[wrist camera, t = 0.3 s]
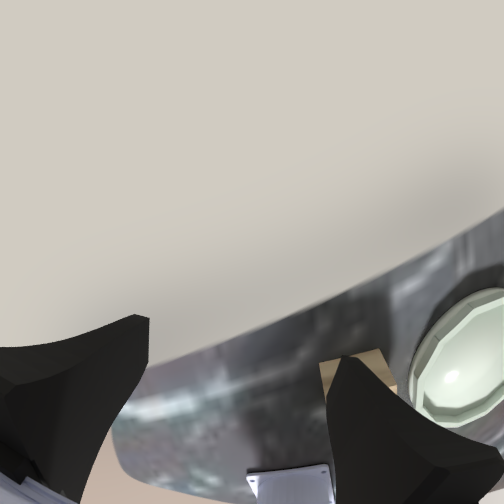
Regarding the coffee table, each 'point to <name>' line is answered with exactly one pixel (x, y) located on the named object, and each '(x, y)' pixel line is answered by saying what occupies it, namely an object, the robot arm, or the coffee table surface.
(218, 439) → the coffee table surface
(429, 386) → the celadon dish
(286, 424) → the coffee table surface
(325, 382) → the birch block
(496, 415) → the coffee table surface
